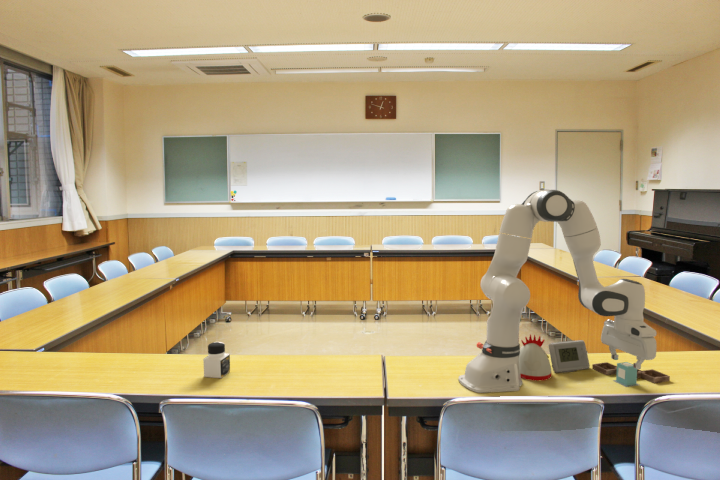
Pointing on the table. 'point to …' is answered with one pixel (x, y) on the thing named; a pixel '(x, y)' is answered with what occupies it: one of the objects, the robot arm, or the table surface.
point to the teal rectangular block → (626, 373)
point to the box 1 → (605, 368)
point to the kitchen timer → (534, 360)
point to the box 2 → (637, 373)
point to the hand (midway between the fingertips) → (625, 363)
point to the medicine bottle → (216, 361)
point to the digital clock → (568, 356)
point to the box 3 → (654, 376)
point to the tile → (625, 385)
